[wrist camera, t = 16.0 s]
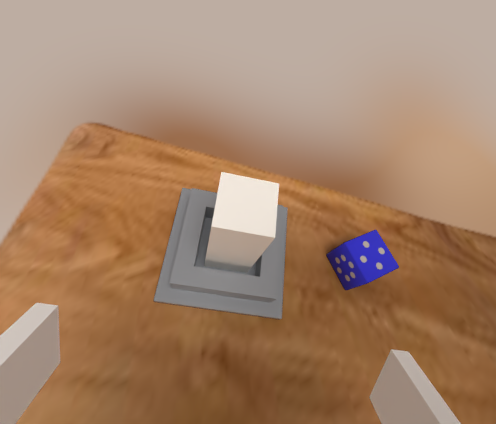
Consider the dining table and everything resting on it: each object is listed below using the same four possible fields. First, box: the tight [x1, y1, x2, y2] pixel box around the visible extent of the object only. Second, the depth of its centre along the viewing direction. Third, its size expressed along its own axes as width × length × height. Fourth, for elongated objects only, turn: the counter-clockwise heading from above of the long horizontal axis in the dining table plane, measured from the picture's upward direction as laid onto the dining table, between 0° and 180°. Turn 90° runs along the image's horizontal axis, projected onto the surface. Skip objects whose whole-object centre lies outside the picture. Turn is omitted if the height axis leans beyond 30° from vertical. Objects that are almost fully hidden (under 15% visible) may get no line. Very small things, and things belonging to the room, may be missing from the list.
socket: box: [154, 188, 287, 319], centre depth 32 cm, size 14×14×4 cm
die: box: [327, 230, 399, 290], centre depth 34 cm, size 5×5×5 cm
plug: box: [204, 172, 279, 273], centre depth 27 cm, size 5×5×12 cm
